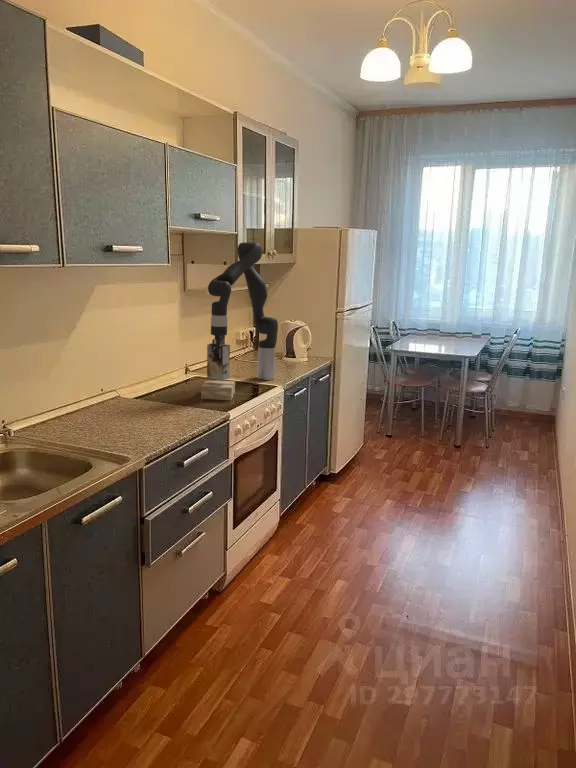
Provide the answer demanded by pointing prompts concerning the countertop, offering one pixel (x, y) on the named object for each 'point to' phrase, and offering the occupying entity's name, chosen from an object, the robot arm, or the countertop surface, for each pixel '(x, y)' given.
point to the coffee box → (218, 362)
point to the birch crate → (218, 390)
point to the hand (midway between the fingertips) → (218, 359)
